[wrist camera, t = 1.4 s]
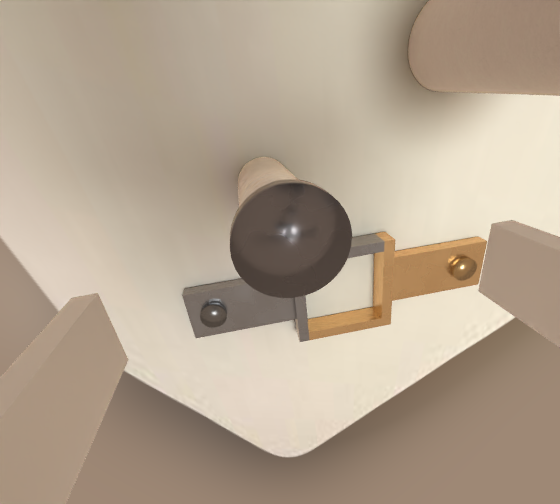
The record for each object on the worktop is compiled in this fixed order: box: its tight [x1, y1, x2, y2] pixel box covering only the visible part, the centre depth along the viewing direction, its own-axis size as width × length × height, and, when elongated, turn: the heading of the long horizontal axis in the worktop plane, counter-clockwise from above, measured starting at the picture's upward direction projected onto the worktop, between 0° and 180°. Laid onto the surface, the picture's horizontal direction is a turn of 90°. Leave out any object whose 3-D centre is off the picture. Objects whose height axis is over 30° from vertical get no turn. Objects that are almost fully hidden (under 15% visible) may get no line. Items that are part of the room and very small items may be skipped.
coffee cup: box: [408, 0, 560, 96], centre depth 15 cm, size 10×10×15 cm
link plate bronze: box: [308, 232, 487, 340], centre depth 29 cm, size 10×19×2 cm, turn 97°
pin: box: [230, 157, 352, 298], centre depth 19 cm, size 5×5×13 cm
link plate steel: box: [182, 234, 385, 342], centre depth 28 cm, size 10×19×2 cm, turn 97°
